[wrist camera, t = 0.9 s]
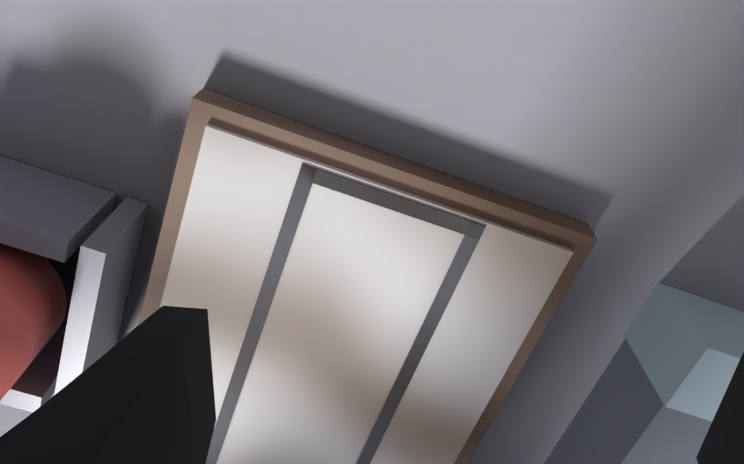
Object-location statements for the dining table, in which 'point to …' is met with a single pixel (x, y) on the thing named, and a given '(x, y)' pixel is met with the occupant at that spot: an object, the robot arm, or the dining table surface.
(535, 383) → the dining table surface
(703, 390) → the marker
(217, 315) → the brown flat wooden board
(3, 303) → the button
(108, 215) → the button housing
